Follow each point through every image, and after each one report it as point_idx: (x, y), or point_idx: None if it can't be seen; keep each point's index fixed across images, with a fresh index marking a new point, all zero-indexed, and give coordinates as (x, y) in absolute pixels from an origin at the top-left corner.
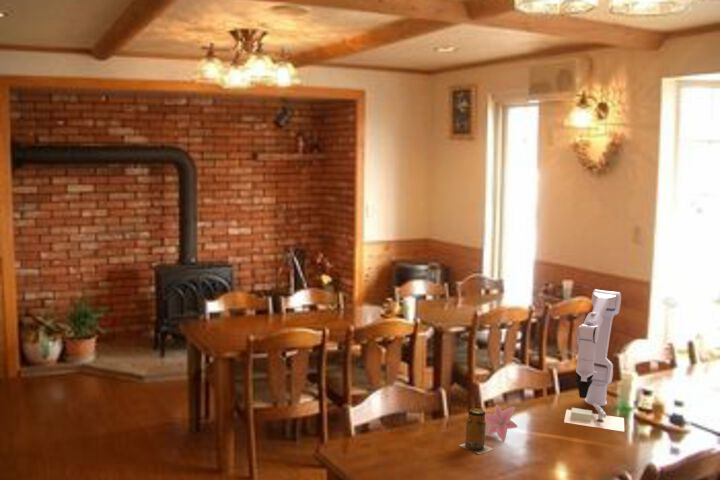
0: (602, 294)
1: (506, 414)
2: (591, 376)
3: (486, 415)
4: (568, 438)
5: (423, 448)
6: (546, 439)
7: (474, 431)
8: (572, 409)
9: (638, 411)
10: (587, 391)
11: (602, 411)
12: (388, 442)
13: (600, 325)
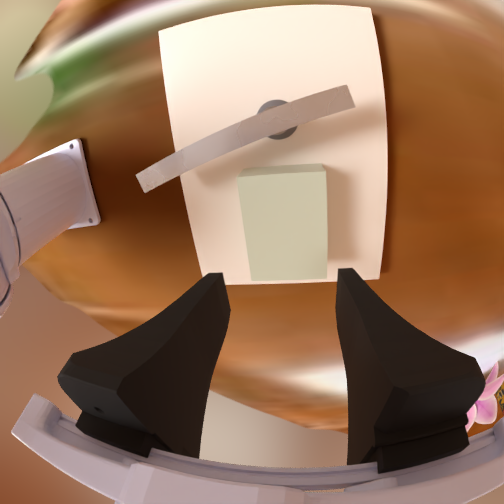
0: None
1: (484, 411)
2: (134, 386)
3: None
4: (490, 242)
5: (498, 410)
6: (497, 297)
7: None
8: (279, 276)
9: (44, 45)
10: (382, 301)
11: (311, 109)
12: (476, 432)
13: None
